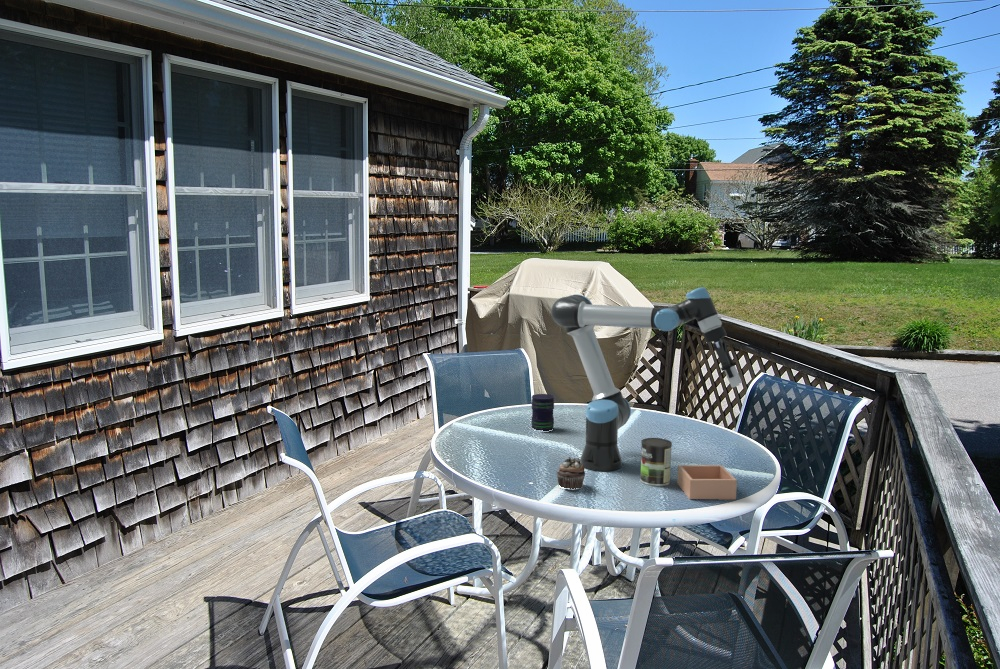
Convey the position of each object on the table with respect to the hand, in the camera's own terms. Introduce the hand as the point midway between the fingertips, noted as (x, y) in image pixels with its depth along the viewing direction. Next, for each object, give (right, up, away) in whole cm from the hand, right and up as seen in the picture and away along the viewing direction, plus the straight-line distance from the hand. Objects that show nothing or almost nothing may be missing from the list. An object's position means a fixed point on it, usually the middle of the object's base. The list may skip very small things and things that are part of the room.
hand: (737, 385), depth 248 cm
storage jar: (-65, -24, +63) cm, 93 cm away
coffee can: (-29, -33, -3) cm, 45 cm away
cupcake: (-59, -34, -9) cm, 69 cm away
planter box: (-15, -34, -13) cm, 40 cm away
